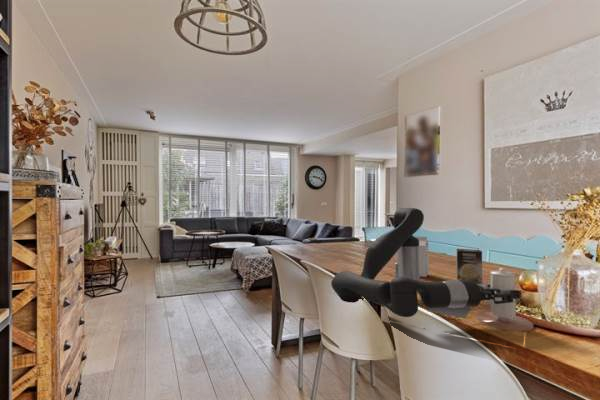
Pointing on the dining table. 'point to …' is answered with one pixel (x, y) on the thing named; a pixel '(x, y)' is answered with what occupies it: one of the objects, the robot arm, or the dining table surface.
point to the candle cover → (503, 282)
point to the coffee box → (469, 265)
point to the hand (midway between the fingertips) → (510, 291)
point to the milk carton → (423, 256)
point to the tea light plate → (505, 322)
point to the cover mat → (451, 311)
